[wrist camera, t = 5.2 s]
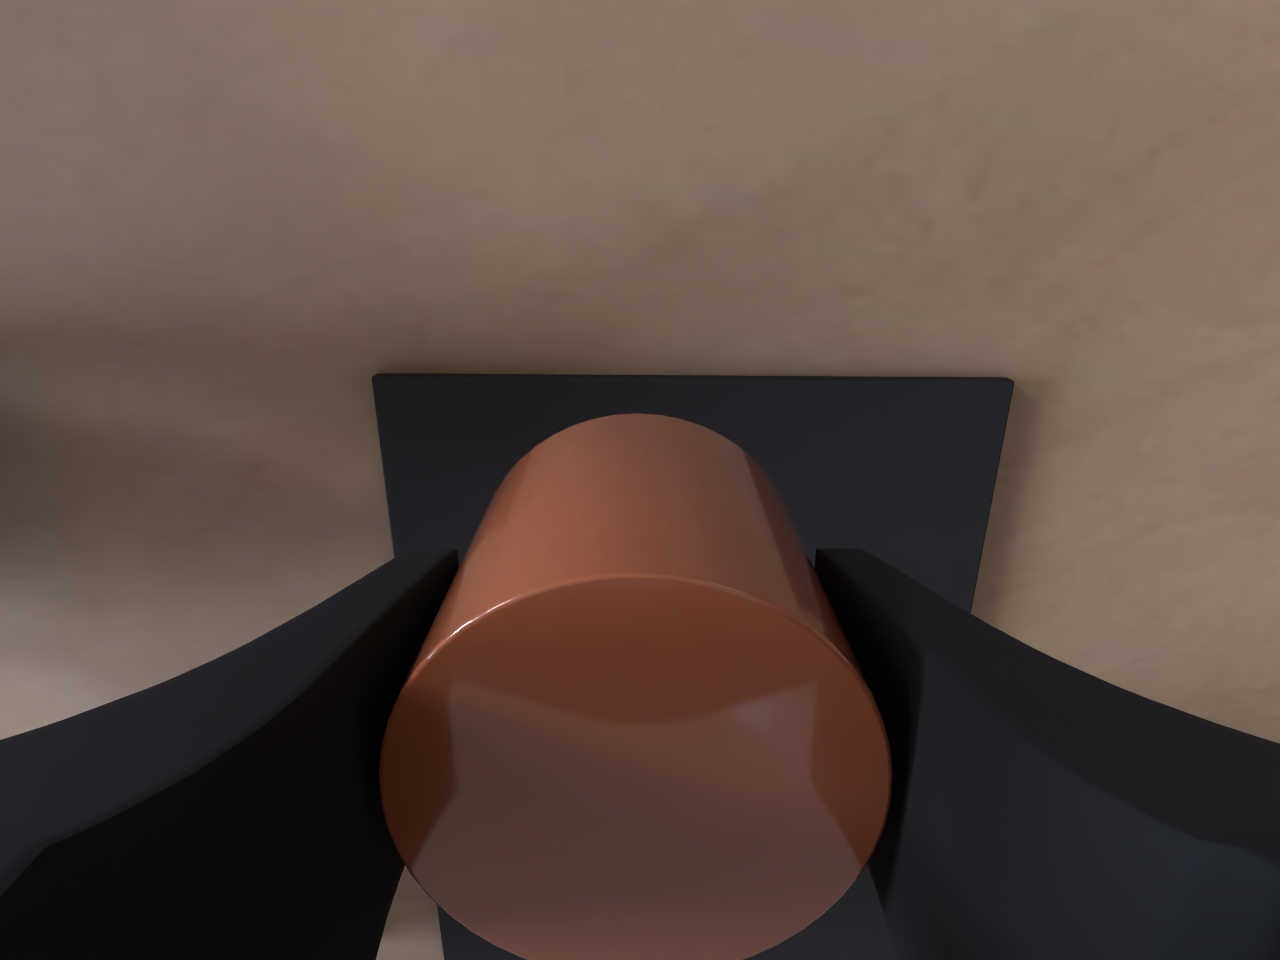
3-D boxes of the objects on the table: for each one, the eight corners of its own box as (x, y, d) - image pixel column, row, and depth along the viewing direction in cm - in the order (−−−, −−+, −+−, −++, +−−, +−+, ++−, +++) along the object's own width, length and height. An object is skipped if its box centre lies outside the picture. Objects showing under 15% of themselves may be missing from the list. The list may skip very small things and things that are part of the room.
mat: (448, 963, 25) (445, 974, 25) (376, 372, 18) (371, 376, 18) (898, 966, 25) (902, 977, 25) (1007, 377, 18) (1015, 381, 18)
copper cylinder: (491, 694, 13) (406, 981, 8) (467, 412, 11) (342, 573, 6) (784, 694, 13) (864, 981, 8) (807, 412, 11) (927, 572, 6)
